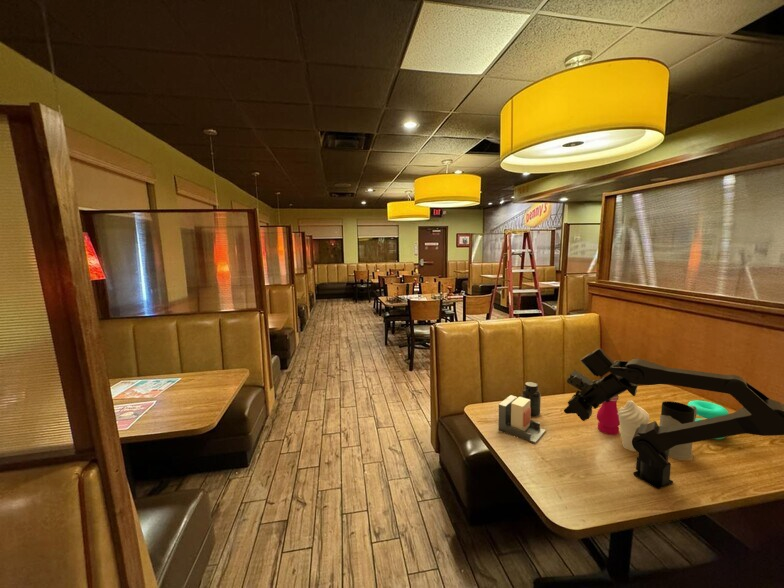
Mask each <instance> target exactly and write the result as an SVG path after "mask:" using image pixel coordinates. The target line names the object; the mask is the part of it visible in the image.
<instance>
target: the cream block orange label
mask: <svg viewBox="0 0 784 588" xmlns="http://www.w3.org/2000/svg"><path fill="white" fill-rule="evenodd" d="M531 418H532V417H531V408H530V399H526V398H523V397H522V396H517V399H516V400H515V401H513V402H512V403H511V426H512V427H515V428H518V429H520V430H523V431H525V430H526V429H527V428H528V427H529V426H530V421H531V420H532V419H531Z"/></svg>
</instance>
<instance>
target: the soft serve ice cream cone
mask: <svg viewBox="0 0 784 588" xmlns="http://www.w3.org/2000/svg"><path fill="white" fill-rule="evenodd" d="M617 410H618V413H617V414H618V415H619V421H620V425H619V432H620V436H621V441H622V442H621V443H622V447H623V448H624V449H626V450H627V451H630V452H636V453H638V452H637V451H636V450H635V449H634V447H633V445H632V439H633V437H634V434H635V431H636V429H637V428H638V427H640V424H649V423H650V421H651V417H650V414H649V413H648V412H647V410H645V409H644V408H642V407H641V406H639V405H637V404H636V403H635V402H634V401H633V400H627V401H626V403H625V405H624V406H621V407H620V408H619V409H617Z"/></svg>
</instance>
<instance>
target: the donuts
mask: <svg viewBox="0 0 784 588" xmlns="http://www.w3.org/2000/svg"><path fill="white" fill-rule="evenodd" d="M687 405H688V406H691V405H692V406H695V407H696V409H697V413H696V416H698V417H700V418H697V417H696V419H695V421H699V420H704V419H709V418H713V417H718V416H723V415H728V414H730V413H729V411H728V410H727V408H725V407H723V406H722V405H720V404H717V403H714V402H710V401H708V400H707V401H706V400H697V399H696V400H690V401H689V402H687ZM692 408H693V407H692ZM693 409H694V408H693ZM725 438H726V437H722V438H716V439H715V440H723V439H725Z"/></svg>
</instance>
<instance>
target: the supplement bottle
mask: <svg viewBox="0 0 784 588" xmlns="http://www.w3.org/2000/svg"><path fill="white" fill-rule="evenodd" d="M541 395H542V394H541V392H540V391H539V385H538V383H537V382H532V381H527V382H525V383H524V388H523V390H522V391H521V397H523V398H526V399H530V408H531V418H532V417H533V418H535V417H539V416H540V415H541V404H542V403H541V402H542V401H541V400H542V399H541V398H542V396H541Z"/></svg>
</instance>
